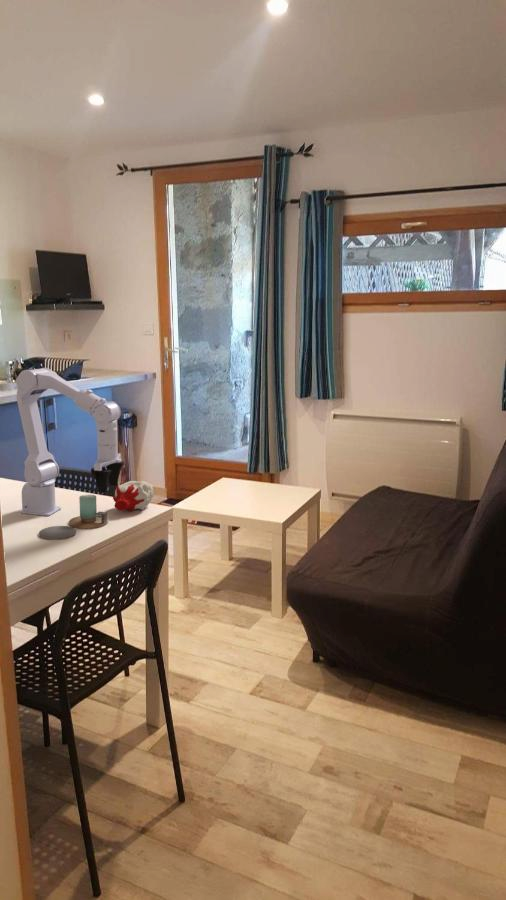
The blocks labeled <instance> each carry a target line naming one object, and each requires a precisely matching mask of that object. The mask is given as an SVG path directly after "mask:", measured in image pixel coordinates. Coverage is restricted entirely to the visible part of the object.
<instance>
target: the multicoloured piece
mask: <svg viewBox="0 0 506 900" xmlns="http://www.w3.org/2000/svg"><path fill="white" fill-rule="evenodd" d="M154 490H155V489H154V486H153V485H152V484H150V483H149V482H147V481H144V480H143V481H138V480H130V481H127V482H124V483H122V484H120V485H117V486H116V489H115V491H114V494H113V496H112V499H113V501H114V506H113V507H115V509H116V510H117V511H127V512H134V511H137V510H138V509H140V510H141V511H143V510H145V508H146V507H147V506H149V505H150V503H151V501H152V499H153V498H154V495H155V493H154Z"/></svg>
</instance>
